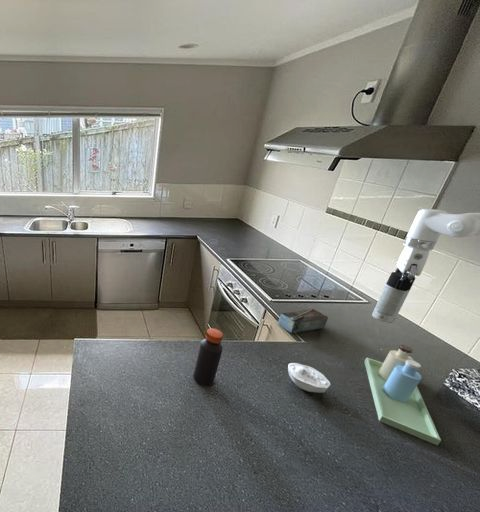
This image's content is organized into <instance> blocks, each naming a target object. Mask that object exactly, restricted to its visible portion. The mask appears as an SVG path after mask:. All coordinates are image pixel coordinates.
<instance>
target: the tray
mask: <svg viewBox="0 0 480 512" xmlns="http://www.w3.org/2000/svg"><path fill="white" fill-rule="evenodd" d="M363 362H364V366H365V370H366V373H367V378H368V381H369V386H370V390H371V394H372V397H373V402H374V407H375V410H376V414H377V419H378V421H379V422H381V423H383V424H386V425H387V426H390V427H392V428H395V429H397V430H400V431H402V432H403V433H404V432H405V433H407V434H409V435H411V436H414V437H415V438H419V439H421V440H423V441H426V442H428V443H430V444H433V445H436V446H439V444H440V443H441V442H442V438H441V437H440V435H439V433H438V430H437V428H436V426H435V423H434V421H433V418H432V416H431V414H430V412H429V409H428V408H427V405H426V403H425V400H424V398H423V396H422V394H421V392H420V390H419V387H418V385H417V386H416V388H415V389H414V391H413V392H412V394H411V396H410V397H409V399H408V400H407V401H406V402H399V401H396V400H394V399H392V398H390V397H389V396H387V395H386V394H385V393H384V392H383V390H382V388H383V387H384V385H385V383H386V382H387V381H385V380H383V379H382V378H381V377H380V376H379V375H378V371H379V369H380V368H381V366H382V364H383V362H382V361H379V360H376V359H373V358H370V357H365V359H364V361H363Z"/></svg>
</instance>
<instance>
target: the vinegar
mask: <svg viewBox="0 0 480 512" xmlns="http://www.w3.org/2000/svg"><path fill="white" fill-rule="evenodd" d="M223 336H224V333H223V332H222V331H221V330H219V329H217V328H214V327H213V328H212V327H211V328H207V330H206V333H205V338H203V339H201V341H200V346H199V349H198V353H197V354H198V355H197V358H196V363H195V366H194V370H193V380H194V381H195V383H197V384H199V385H200V386H203V387H211V386H213V384H214V383H215V380H216V375H217V372H218V368H219V364H220V361H221V356H222V355H223V354H222V353H223V345H222V344H221V343H222V340H223Z"/></svg>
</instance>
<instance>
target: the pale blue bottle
mask: <svg viewBox="0 0 480 512" xmlns="http://www.w3.org/2000/svg"><path fill="white" fill-rule="evenodd" d="M413 360H414V359H413ZM413 360H407V361H406V362H405V363H406V364H405V366H402V365H397V366H395V368H394V370H393V372H392V373H391V375H390V377H389V378H388V380H387V382H386V383H385V385H384V387H383V388H382V390H383V392H384V393H385V394H386V395H387V396H389V397H390V398H392V399H394V400H396V401H399V402H406V401H407V400H408V399H409V397H410V396H411V394H412V392H413V391H414V389H415V388H416V386H417V387H418V385H419V384H420V382H421V380H422V378H423V377H422V375H421V374H420V373H419V372H418V371H419V370H420V369H421V367H422V365H421V364H420V363H419V362H418V361H415V360H414V361H413Z"/></svg>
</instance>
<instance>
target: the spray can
mask: <svg viewBox="0 0 480 512" xmlns="http://www.w3.org/2000/svg"><path fill="white" fill-rule="evenodd" d="M401 276H402V272H395V271H392V272H390V275H389V277H388V279H387V281H386V284H385V285H384V288H383V289H382V292H381V294H380V296H379V298H378V301H377V303H376V305H375V307H374V309H373V312H372V314H371V316H372V317H373V318H374V319H376V320H377V321H380V322H381V323H386V324H392V323H394V322H395V321H396V319H397V316H398V315H399V313H400V311H401V308H402V307H403V305H404V303H405V301H406V299H407V297H408V295H409V293H410V291H411V289H412V287H413V285H414V282H415V280H416V276H415V277H414V278H413V279H412V282H411V284H410V286H409V288H408V290H407V291H401V290H397V289H395V286H396V284H397V282H398V280H399V279H401ZM405 276H406V274H405ZM407 276H408V275H407Z"/></svg>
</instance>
